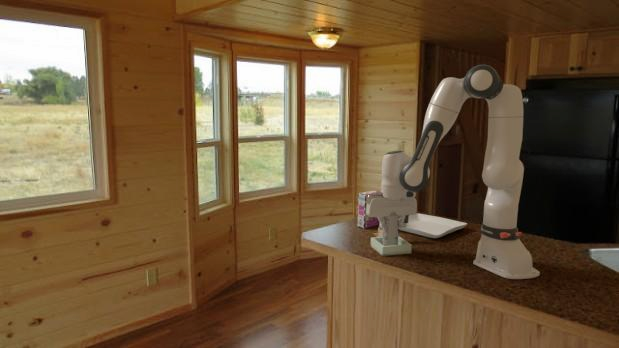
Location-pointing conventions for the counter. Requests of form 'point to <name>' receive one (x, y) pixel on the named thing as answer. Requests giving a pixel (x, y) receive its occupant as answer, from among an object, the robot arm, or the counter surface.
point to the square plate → (431, 225)
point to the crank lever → (402, 222)
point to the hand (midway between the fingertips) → (390, 226)
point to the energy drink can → (390, 229)
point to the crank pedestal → (379, 233)
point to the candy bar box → (363, 218)
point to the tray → (391, 247)
